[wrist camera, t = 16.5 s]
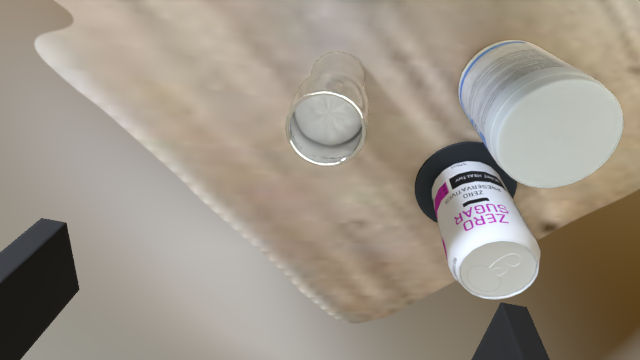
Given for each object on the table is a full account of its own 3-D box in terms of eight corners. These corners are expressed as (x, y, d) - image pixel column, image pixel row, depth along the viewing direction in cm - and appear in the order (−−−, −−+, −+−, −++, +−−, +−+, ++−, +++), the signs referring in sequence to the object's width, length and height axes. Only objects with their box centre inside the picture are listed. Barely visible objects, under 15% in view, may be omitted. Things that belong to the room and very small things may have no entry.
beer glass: (295, 87, 47) (267, 141, 34) (327, 33, 44) (310, 70, 31) (346, 119, 49) (338, 183, 36) (381, 69, 45) (386, 119, 32)
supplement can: (460, 227, 54) (489, 316, 41) (416, 188, 52) (433, 269, 39) (514, 188, 50) (565, 273, 37) (470, 145, 48) (507, 218, 35)
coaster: (400, 163, 51) (400, 165, 50) (500, 126, 47) (501, 127, 47) (433, 237, 56) (433, 239, 55) (526, 208, 52) (528, 209, 52)
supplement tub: (443, 111, 47) (471, 173, 34) (479, 26, 42) (527, 61, 30) (524, 134, 47) (582, 203, 35) (569, 51, 43) (655, 97, 30)
